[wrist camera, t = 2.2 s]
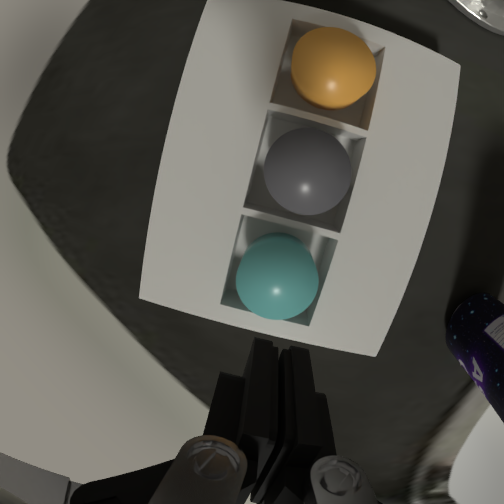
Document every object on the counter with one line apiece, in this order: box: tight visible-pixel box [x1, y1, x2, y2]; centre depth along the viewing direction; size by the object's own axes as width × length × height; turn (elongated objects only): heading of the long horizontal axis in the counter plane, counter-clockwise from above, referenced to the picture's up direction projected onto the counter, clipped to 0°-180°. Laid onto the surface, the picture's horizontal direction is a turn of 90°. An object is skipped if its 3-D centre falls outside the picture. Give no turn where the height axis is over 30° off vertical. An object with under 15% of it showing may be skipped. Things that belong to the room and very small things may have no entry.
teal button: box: [236, 232, 319, 320], centre depth 18 cm, size 4×4×2 cm
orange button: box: [290, 27, 376, 110], centre depth 15 cm, size 4×4×2 cm
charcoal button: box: [264, 128, 352, 215], centre depth 16 cm, size 4×4×2 cm
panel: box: [139, 0, 460, 357], centre depth 18 cm, size 20×16×3 cm
